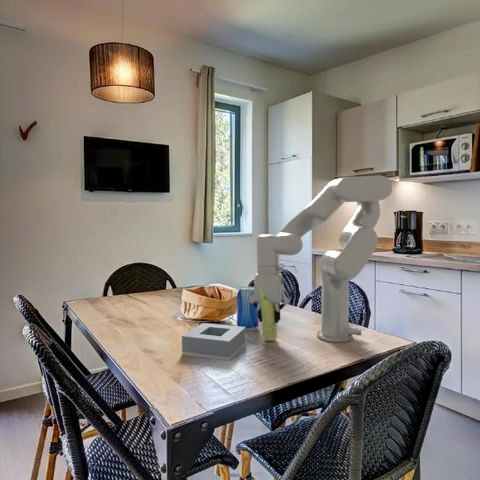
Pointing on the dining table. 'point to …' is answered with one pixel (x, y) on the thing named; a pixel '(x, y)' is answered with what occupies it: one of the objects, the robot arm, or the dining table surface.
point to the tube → (268, 318)
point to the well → (214, 341)
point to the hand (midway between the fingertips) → (269, 320)
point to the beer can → (246, 309)
